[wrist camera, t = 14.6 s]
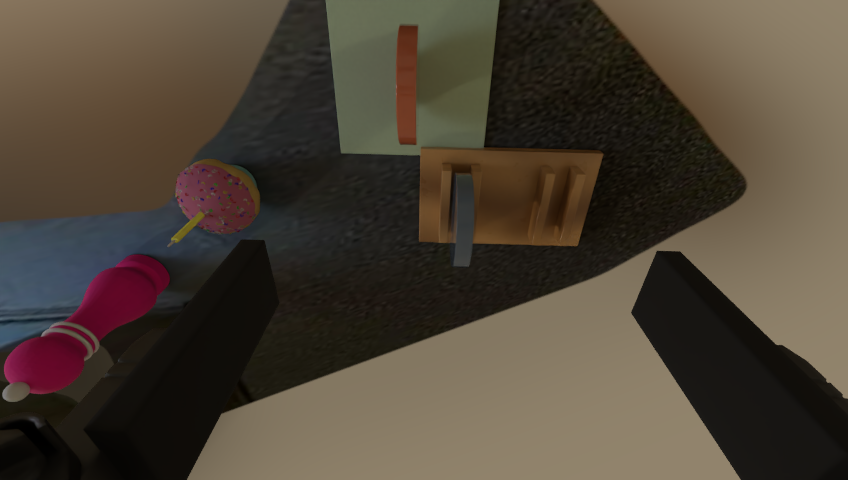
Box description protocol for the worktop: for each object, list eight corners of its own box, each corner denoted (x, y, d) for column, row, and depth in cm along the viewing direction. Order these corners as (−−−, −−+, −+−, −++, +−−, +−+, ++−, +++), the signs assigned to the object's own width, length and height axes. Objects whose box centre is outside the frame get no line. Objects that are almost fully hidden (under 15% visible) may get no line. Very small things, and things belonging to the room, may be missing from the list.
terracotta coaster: (403, 22, 35) (394, 24, 27) (420, 22, 35) (416, 25, 27) (404, 129, 40) (396, 159, 32) (419, 129, 40) (415, 160, 32)
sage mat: (324, -19, 34) (323, -20, 34) (500, -15, 34) (501, -16, 33) (341, 152, 42) (341, 153, 42) (482, 155, 42) (482, 156, 42)
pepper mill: (182, 270, 52) (59, 398, 35) (162, 300, 55) (40, 431, 38) (129, 241, 49) (-31, 363, 32) (111, 273, 52) (-44, 401, 35)
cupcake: (250, 225, 48) (200, 284, 37) (187, 183, 45) (114, 234, 34) (286, 180, 44) (242, 231, 34) (220, 131, 41) (151, 170, 31)
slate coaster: (453, 158, 41) (459, 198, 33) (468, 159, 41) (477, 198, 33) (448, 235, 46) (452, 286, 38) (461, 236, 46) (468, 287, 38)
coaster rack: (420, 145, 42) (419, 156, 39) (599, 150, 42) (613, 161, 38) (419, 236, 48) (418, 252, 45) (574, 241, 48) (584, 257, 45)
